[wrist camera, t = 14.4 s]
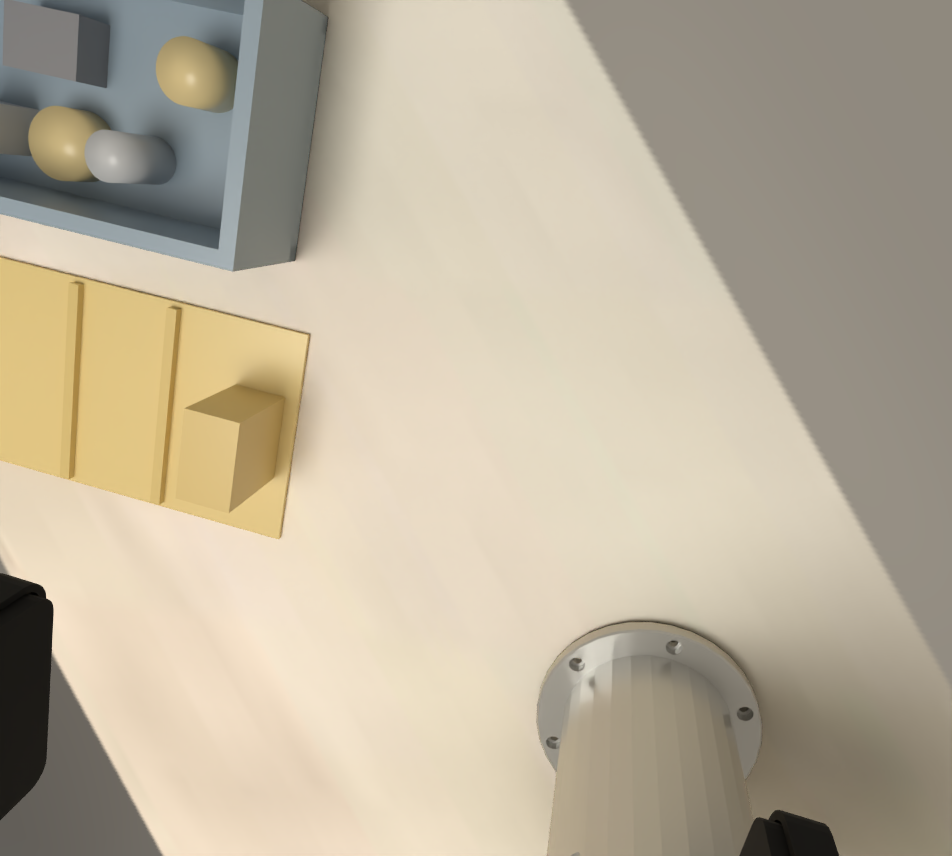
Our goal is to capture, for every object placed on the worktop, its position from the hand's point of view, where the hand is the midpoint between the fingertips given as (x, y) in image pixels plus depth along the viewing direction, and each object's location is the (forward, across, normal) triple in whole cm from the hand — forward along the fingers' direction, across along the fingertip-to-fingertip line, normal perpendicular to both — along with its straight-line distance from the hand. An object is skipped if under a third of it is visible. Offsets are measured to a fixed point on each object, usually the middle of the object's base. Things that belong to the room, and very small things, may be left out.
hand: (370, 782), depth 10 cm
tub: (+32, +25, -7) cm, 41 cm away
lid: (+33, +24, +9) cm, 42 cm away
